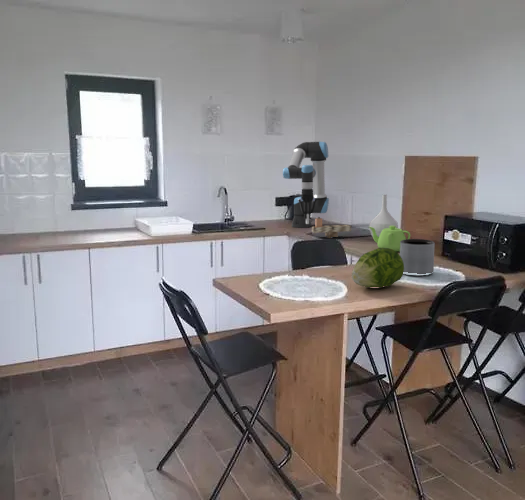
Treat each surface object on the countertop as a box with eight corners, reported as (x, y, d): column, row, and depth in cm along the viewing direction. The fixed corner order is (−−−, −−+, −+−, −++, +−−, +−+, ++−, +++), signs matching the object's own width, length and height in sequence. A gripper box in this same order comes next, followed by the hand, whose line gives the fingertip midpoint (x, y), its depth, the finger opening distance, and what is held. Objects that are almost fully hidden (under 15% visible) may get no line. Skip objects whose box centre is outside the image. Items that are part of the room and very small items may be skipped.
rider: (316, 229, 350) (316, 217, 349) (315, 228, 353) (315, 216, 352) (322, 229, 351) (322, 217, 349) (320, 228, 354) (320, 216, 352)
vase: (400, 239, 342) (402, 193, 336) (393, 243, 326) (395, 196, 321) (373, 237, 351) (374, 193, 345) (365, 241, 335) (366, 195, 329)
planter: (431, 270, 257) (433, 239, 254) (434, 277, 241) (436, 245, 238) (398, 268, 260) (399, 238, 257) (399, 276, 245) (400, 244, 242)
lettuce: (341, 286, 231) (341, 251, 223) (382, 272, 240) (384, 238, 233) (367, 303, 217) (368, 266, 209) (409, 287, 226) (411, 251, 219)
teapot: (414, 251, 303) (415, 226, 301) (385, 254, 296) (386, 229, 293) (394, 245, 320) (395, 222, 318) (367, 248, 313) (367, 225, 310)
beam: (314, 238, 349) (314, 227, 347) (311, 237, 356) (311, 226, 355) (351, 237, 353) (351, 226, 352) (347, 235, 361) (347, 224, 359)
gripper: (299, 189, 340) (299, 224, 345) (318, 188, 343) (318, 224, 347) (296, 188, 348) (296, 223, 352) (315, 187, 350) (315, 222, 355)
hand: (307, 223), depth 350 cm, fingers closed
